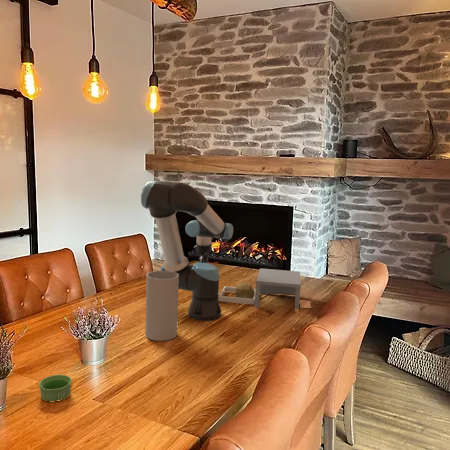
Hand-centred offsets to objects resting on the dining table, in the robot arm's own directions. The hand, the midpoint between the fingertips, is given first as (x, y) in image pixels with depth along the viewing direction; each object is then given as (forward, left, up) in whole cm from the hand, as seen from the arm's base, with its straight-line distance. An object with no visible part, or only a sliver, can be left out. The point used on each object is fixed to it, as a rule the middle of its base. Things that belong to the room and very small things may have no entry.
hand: (202, 287), depth 233 cm
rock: (+19, -11, -4) cm, 22 cm away
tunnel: (+37, -21, -4) cm, 42 cm away
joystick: (+11, -6, -4) cm, 13 cm away
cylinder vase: (-32, -46, -4) cm, 56 cm away
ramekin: (-72, -80, -4) cm, 108 cm away
